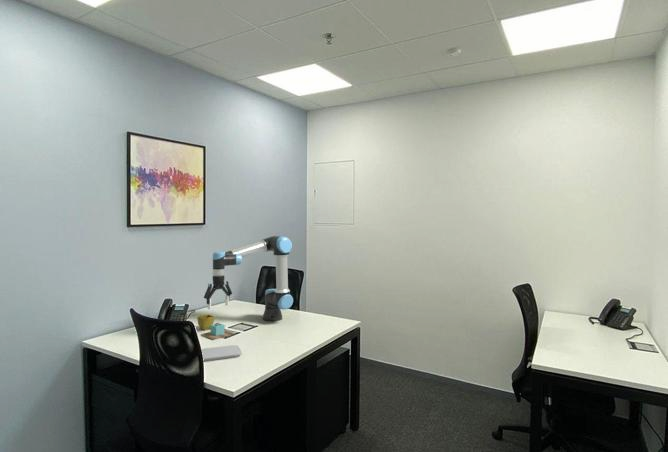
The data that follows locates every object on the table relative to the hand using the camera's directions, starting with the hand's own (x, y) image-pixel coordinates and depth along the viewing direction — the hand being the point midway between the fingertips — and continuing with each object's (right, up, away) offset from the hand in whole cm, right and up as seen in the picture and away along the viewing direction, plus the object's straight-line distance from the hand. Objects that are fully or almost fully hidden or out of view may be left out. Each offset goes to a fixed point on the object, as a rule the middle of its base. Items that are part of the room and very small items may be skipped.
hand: (218, 307), depth 254 cm
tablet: (+10, -21, -36) cm, 42 cm away
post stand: (-1, -19, 0) cm, 19 cm away
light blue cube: (-1, -18, 0) cm, 18 cm away
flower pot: (-13, -18, +12) cm, 25 cm away
